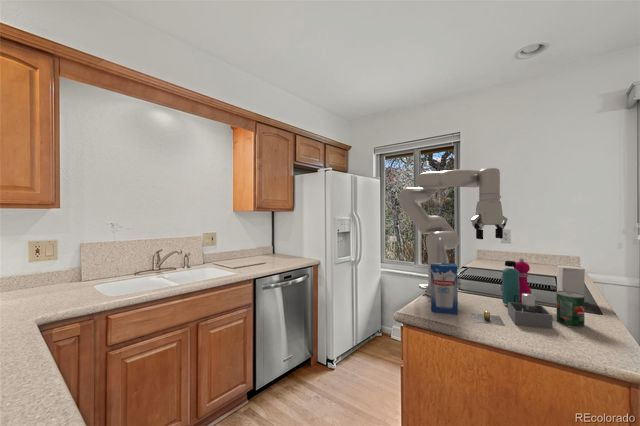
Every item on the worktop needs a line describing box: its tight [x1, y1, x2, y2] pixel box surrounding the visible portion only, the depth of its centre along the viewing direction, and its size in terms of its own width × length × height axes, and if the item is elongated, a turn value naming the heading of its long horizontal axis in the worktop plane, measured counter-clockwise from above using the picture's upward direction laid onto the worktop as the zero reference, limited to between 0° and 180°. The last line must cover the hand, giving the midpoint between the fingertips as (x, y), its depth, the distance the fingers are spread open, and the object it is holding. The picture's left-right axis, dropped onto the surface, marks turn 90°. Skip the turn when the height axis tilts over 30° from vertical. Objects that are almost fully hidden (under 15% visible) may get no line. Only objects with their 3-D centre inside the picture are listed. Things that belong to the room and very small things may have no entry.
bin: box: [507, 302, 553, 330], centre depth 106 cm, size 11×11×6 cm
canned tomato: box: [555, 290, 586, 329], centre depth 106 cm, size 8×8×11 cm
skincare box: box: [556, 264, 586, 296], centre depth 131 cm, size 8×7×16 cm
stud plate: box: [470, 310, 506, 327], centre depth 109 cm, size 10×10×4 cm
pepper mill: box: [513, 258, 532, 303], centre depth 130 cm, size 7×7×20 cm
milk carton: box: [430, 263, 459, 315], centre depth 118 cm, size 10×6×20 cm, turn 70°
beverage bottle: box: [501, 260, 520, 306], centre depth 124 cm, size 6×7×20 cm
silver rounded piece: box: [517, 293, 537, 313], centre depth 106 cm, size 5×5×10 cm
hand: (489, 238), depth 120 cm, fingers open, 9 cm apart
